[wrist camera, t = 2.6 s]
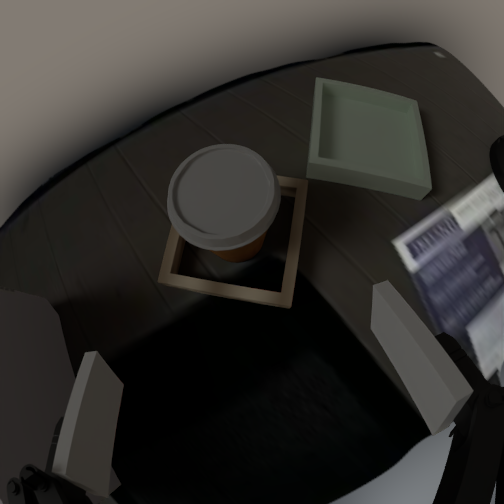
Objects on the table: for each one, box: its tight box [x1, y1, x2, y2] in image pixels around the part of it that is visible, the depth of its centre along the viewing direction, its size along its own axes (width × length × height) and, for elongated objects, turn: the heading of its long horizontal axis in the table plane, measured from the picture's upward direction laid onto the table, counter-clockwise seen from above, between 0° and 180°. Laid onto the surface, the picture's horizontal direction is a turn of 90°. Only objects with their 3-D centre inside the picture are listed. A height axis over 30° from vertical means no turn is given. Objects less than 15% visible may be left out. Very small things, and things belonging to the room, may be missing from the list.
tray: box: [306, 77, 432, 200], centre depth 35 cm, size 16×16×4 cm
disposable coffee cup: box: [167, 144, 281, 263], centre depth 28 cm, size 10×10×12 cm
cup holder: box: [158, 176, 308, 308], centre depth 33 cm, size 14×14×2 cm
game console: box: [0, 286, 121, 504], centre depth 20 cm, size 6×27×20 cm, turn 21°
